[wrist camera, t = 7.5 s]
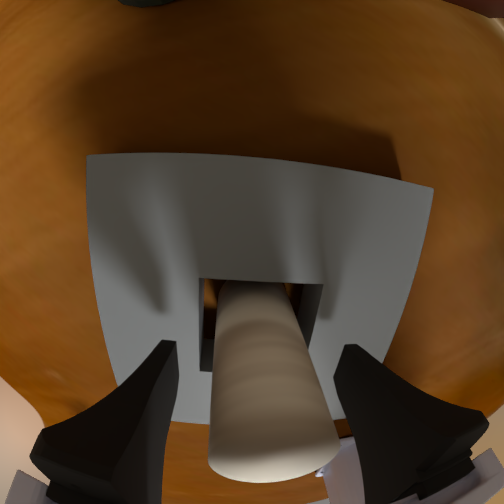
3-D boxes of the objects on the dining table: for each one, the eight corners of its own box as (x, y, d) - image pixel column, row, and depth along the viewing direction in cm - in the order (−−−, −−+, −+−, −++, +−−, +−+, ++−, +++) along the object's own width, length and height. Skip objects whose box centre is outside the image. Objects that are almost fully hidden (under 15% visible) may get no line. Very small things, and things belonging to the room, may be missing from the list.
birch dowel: (282, 330, 17) (321, 476, 7) (217, 328, 16) (210, 482, 7) (291, 271, 15) (358, 418, 6) (218, 268, 15) (204, 427, 6)
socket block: (343, 389, 19) (355, 416, 16) (136, 384, 18) (127, 413, 15) (402, 181, 14) (433, 188, 11) (113, 153, 12) (86, 155, 10)
